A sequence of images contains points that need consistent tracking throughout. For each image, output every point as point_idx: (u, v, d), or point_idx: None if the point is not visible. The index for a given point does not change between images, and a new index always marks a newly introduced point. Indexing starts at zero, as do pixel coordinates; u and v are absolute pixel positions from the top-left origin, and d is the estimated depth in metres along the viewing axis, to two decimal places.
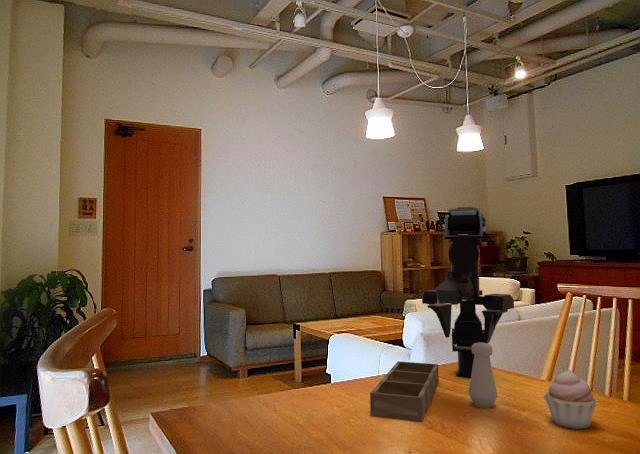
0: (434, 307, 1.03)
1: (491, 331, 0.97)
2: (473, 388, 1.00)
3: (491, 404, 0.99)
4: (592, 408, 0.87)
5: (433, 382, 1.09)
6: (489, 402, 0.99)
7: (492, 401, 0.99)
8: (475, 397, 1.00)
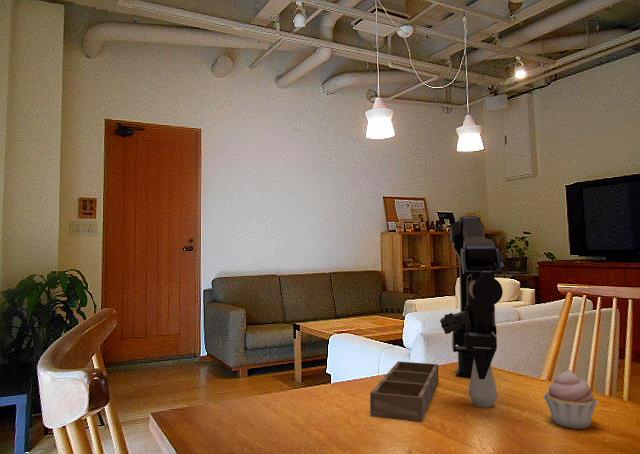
0: None
1: (482, 368, 0.96)
2: (473, 388, 1.00)
3: (491, 404, 0.99)
4: (592, 408, 0.87)
5: (433, 382, 1.09)
6: (489, 402, 0.99)
7: (492, 401, 0.99)
8: (475, 397, 1.00)
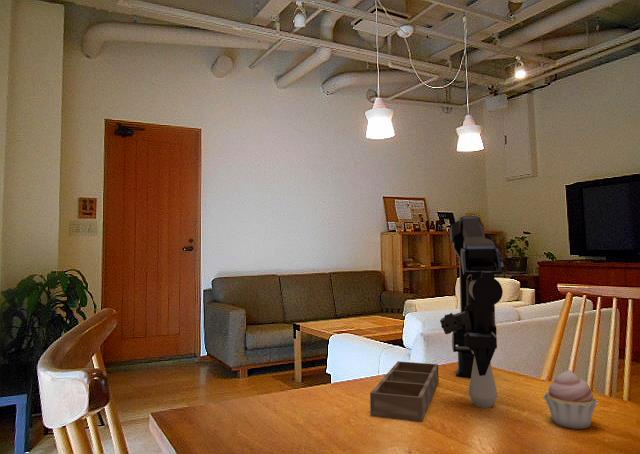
0: None
1: (482, 365, 0.99)
2: (473, 388, 1.00)
3: (491, 404, 0.99)
4: (592, 408, 0.87)
5: (433, 382, 1.09)
6: (489, 402, 0.99)
7: (492, 401, 0.99)
8: (475, 397, 1.00)
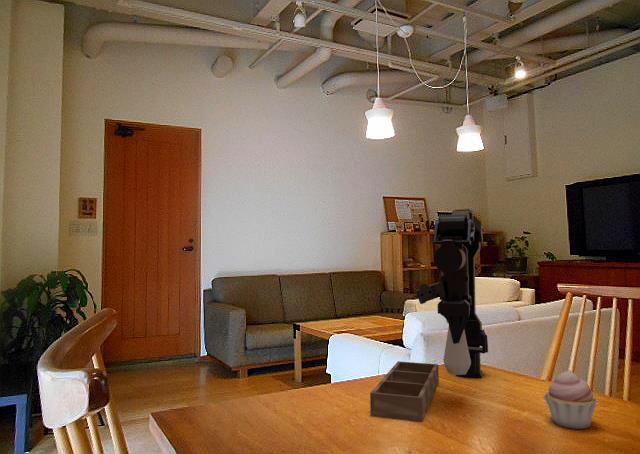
0: None
1: (456, 333, 1.01)
2: (447, 356, 1.02)
3: (465, 371, 1.01)
4: (592, 408, 0.87)
5: (433, 382, 1.09)
6: (463, 369, 1.01)
7: (466, 368, 1.01)
8: (449, 365, 1.02)
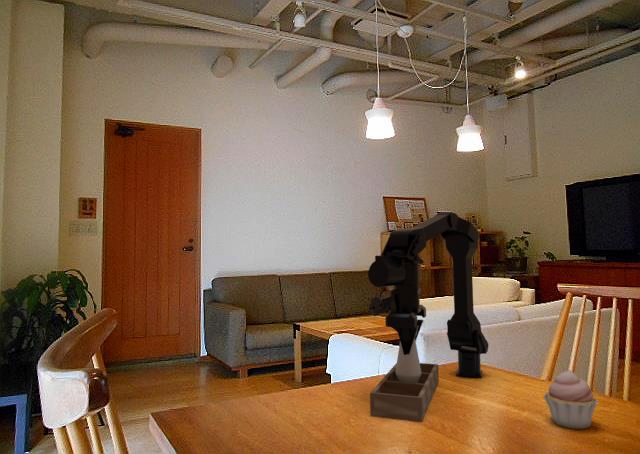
0: None
1: (406, 345, 1.05)
2: (398, 367, 1.06)
3: (415, 381, 1.05)
4: (592, 408, 0.87)
5: (433, 382, 1.09)
6: (412, 380, 1.05)
7: (415, 379, 1.05)
8: (400, 375, 1.05)
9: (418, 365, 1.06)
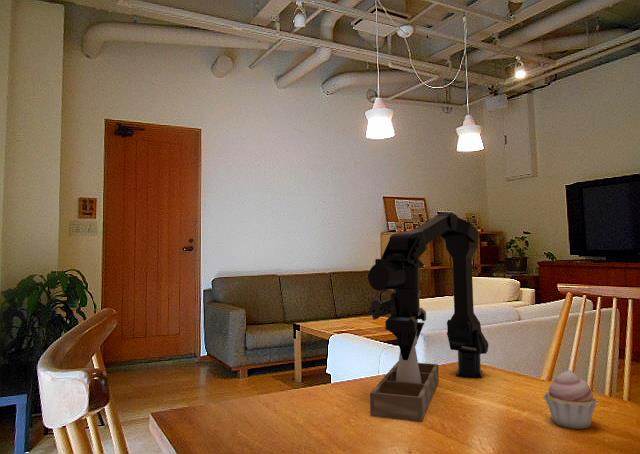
0: None
1: (405, 349, 1.04)
2: (398, 376, 1.06)
3: None
4: (592, 408, 0.87)
5: (433, 382, 1.09)
6: None
7: None
8: None
9: (418, 374, 1.06)
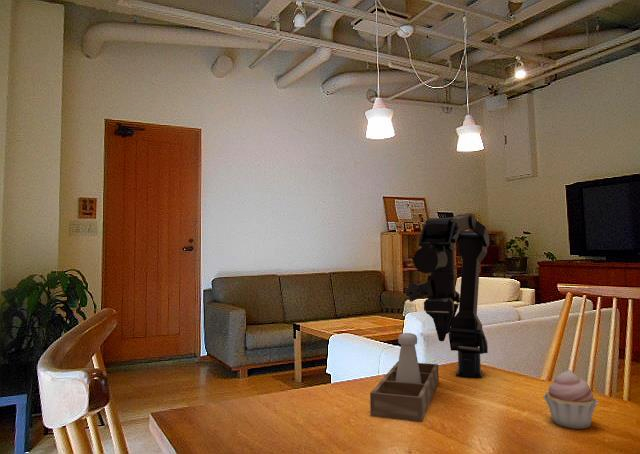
0: None
1: (441, 330, 1.06)
2: (398, 376, 1.06)
3: None
4: (592, 408, 0.87)
5: (433, 382, 1.09)
6: None
7: None
8: None
9: (418, 374, 1.05)
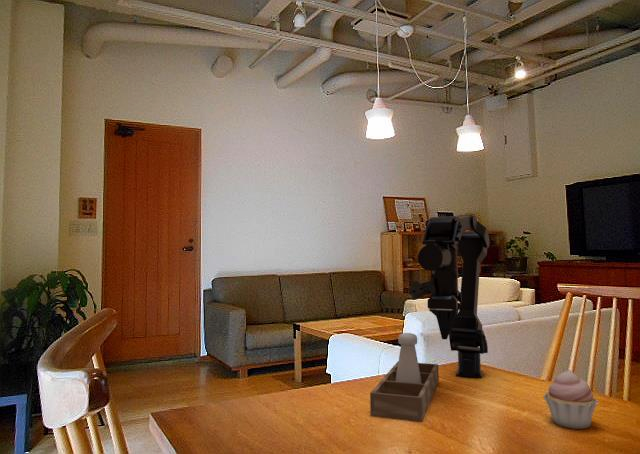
0: None
1: (445, 328, 1.06)
2: (398, 376, 1.06)
3: None
4: (592, 408, 0.87)
5: (433, 382, 1.09)
6: None
7: None
8: None
9: (418, 374, 1.05)
